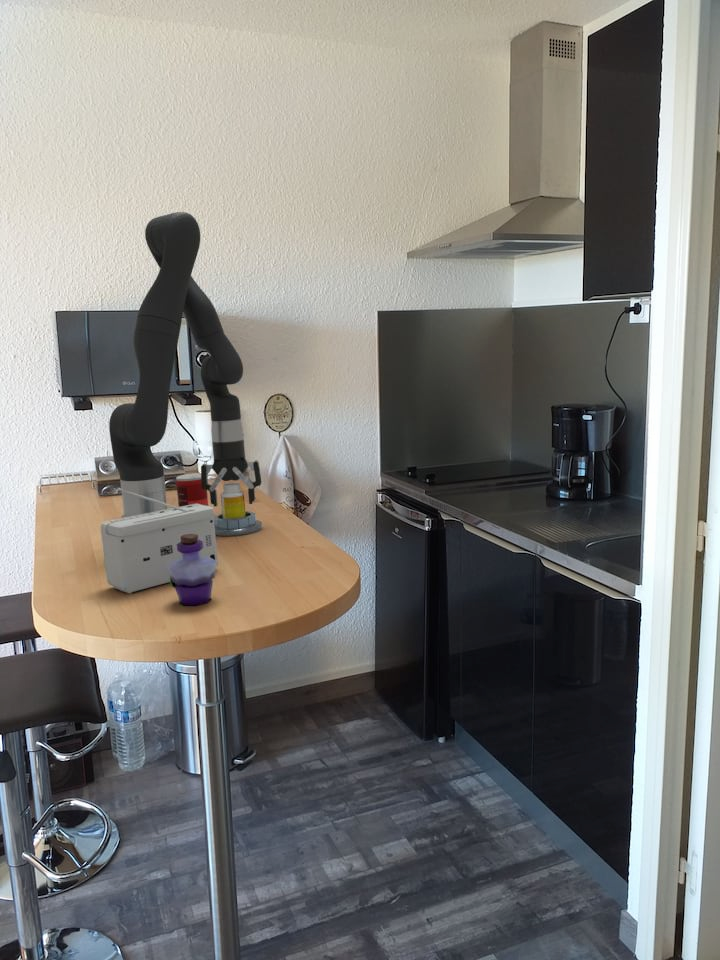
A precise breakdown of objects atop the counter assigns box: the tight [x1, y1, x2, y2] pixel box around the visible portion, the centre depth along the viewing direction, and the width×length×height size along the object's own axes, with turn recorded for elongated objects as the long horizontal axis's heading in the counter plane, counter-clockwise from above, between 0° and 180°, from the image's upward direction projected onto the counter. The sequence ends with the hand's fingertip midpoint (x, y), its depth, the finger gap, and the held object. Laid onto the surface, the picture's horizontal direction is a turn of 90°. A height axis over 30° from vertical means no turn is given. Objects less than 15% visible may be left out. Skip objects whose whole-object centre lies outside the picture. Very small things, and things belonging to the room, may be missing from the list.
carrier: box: [214, 510, 263, 538], centre depth 185 cm, size 13×13×4 cm
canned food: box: [175, 473, 209, 507], centre depth 203 cm, size 8×8×11 cm
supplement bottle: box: [220, 482, 246, 519], centre depth 184 cm, size 6×6×10 cm
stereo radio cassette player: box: [100, 487, 219, 595], centre depth 145 cm, size 21×8×20 cm, turn 131°
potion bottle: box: [166, 534, 217, 607], centre depth 132 cm, size 9×9×12 cm
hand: (233, 504), depth 184 cm, fingers open, 8 cm apart
